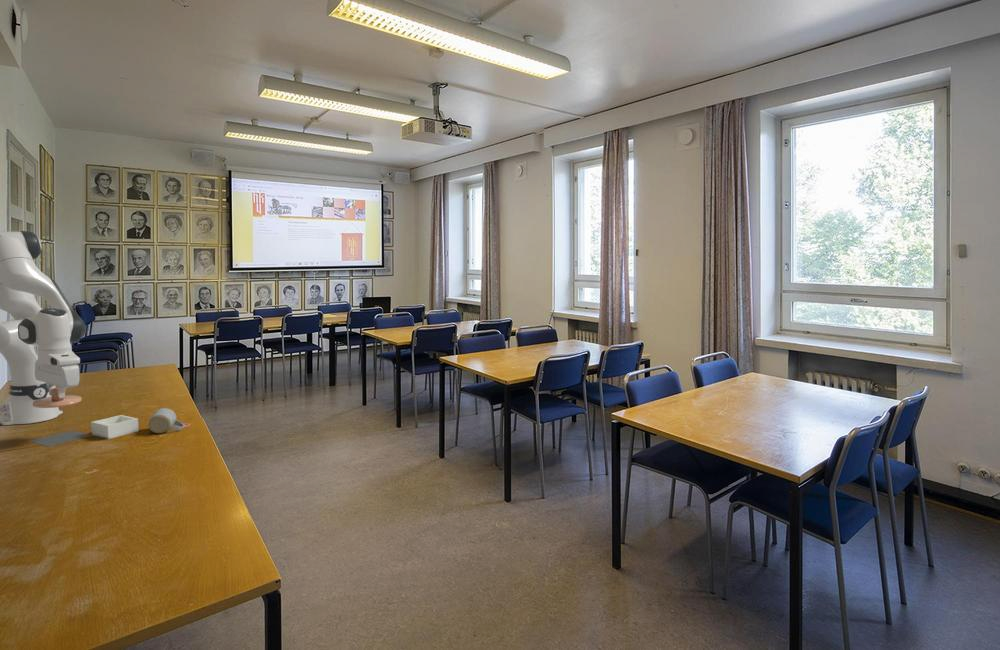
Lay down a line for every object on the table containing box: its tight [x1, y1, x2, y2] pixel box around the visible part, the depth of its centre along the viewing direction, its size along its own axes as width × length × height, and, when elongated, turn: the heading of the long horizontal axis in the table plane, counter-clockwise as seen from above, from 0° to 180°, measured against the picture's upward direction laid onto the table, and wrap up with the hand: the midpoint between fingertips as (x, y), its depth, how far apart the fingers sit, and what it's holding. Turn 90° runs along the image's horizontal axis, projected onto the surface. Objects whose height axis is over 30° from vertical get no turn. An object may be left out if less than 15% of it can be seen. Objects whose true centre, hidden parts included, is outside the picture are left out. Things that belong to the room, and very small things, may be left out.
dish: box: [90, 414, 140, 440], centre depth 190 cm, size 10×10×5 cm
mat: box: [28, 430, 93, 448], centre depth 184 cm, size 13×13×1 cm
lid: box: [33, 387, 83, 408], centre depth 182 cm, size 13×13×5 cm
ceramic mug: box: [148, 407, 185, 434], centre depth 194 cm, size 11×8×8 cm
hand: (57, 396), depth 182 cm, fingers closed on lid, 3 cm apart
